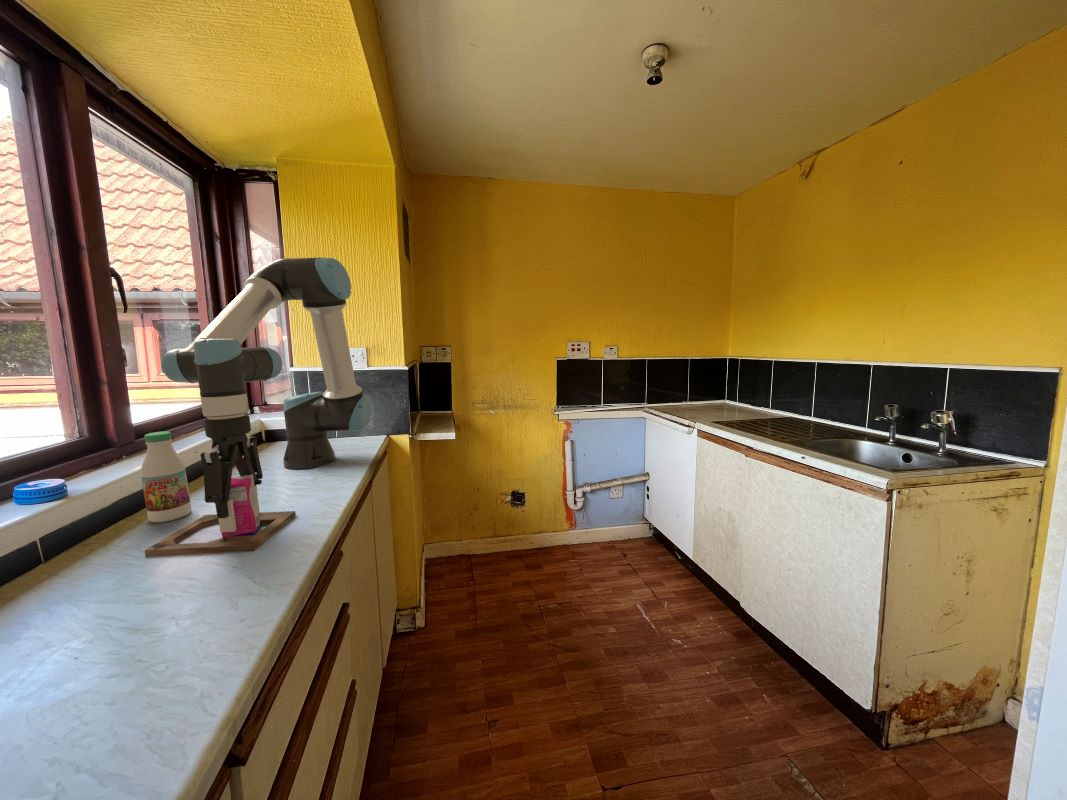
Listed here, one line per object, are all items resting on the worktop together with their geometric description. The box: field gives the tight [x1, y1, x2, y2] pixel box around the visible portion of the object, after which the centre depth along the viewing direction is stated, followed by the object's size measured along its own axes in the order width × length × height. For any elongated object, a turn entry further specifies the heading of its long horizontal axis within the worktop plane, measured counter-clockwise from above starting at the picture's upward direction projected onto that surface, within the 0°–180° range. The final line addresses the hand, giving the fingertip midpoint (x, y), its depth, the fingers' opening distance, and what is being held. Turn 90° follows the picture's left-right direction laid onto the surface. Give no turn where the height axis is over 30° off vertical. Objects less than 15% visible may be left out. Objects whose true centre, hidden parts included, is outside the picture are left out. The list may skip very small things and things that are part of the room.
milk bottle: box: [140, 431, 192, 523], centre depth 96 cm, size 8×8×20 cm
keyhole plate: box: [144, 510, 297, 557], centre depth 88 cm, size 16×20×1 cm
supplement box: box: [221, 475, 261, 538], centre depth 87 cm, size 6×6×12 cm
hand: (241, 522), depth 87 cm, fingers closed on supplement box, 7 cm apart
